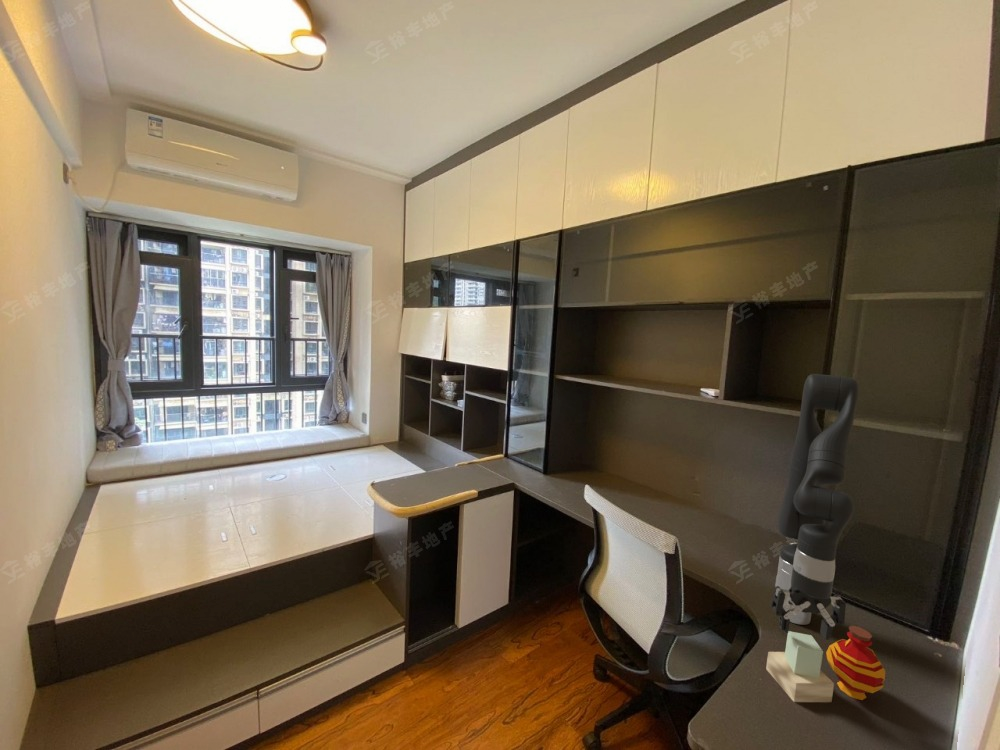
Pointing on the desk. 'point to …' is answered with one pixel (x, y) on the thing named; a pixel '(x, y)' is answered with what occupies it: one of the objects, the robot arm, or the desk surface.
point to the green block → (803, 654)
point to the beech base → (799, 681)
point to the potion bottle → (856, 664)
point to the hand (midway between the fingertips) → (803, 633)
